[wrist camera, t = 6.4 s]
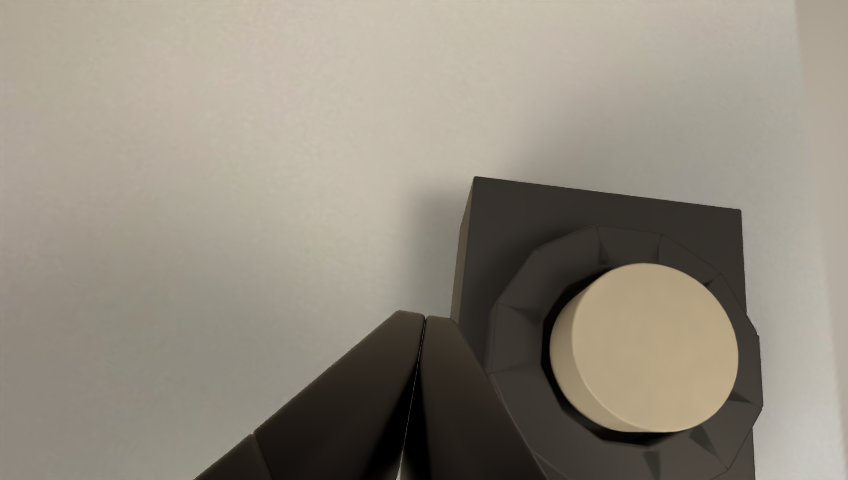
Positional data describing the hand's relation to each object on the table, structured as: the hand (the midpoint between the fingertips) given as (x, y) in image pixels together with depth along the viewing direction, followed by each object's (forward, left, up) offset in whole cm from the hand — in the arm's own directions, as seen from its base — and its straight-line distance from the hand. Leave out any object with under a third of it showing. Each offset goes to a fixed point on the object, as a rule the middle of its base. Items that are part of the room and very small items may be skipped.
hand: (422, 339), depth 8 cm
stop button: (+3, -4, -6) cm, 8 cm away
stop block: (+3, -4, -12) cm, 13 cm away
